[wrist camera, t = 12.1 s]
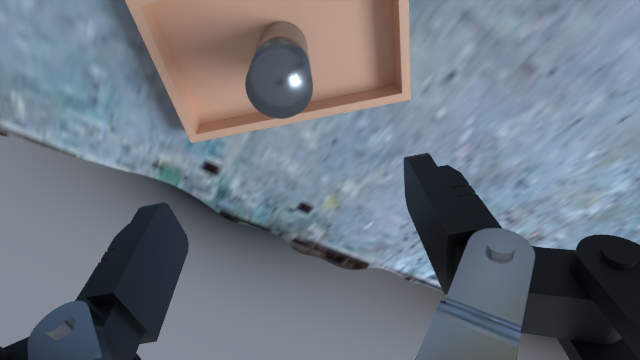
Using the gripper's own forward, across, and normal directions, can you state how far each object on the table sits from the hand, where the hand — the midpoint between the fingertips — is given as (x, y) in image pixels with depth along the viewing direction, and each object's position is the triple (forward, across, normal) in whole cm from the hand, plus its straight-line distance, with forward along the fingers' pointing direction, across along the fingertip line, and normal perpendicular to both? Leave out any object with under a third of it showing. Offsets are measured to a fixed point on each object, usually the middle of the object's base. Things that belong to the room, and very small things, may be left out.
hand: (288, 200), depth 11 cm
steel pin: (+24, +1, 0) cm, 24 cm away
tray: (+24, +1, 0) cm, 24 cm away
